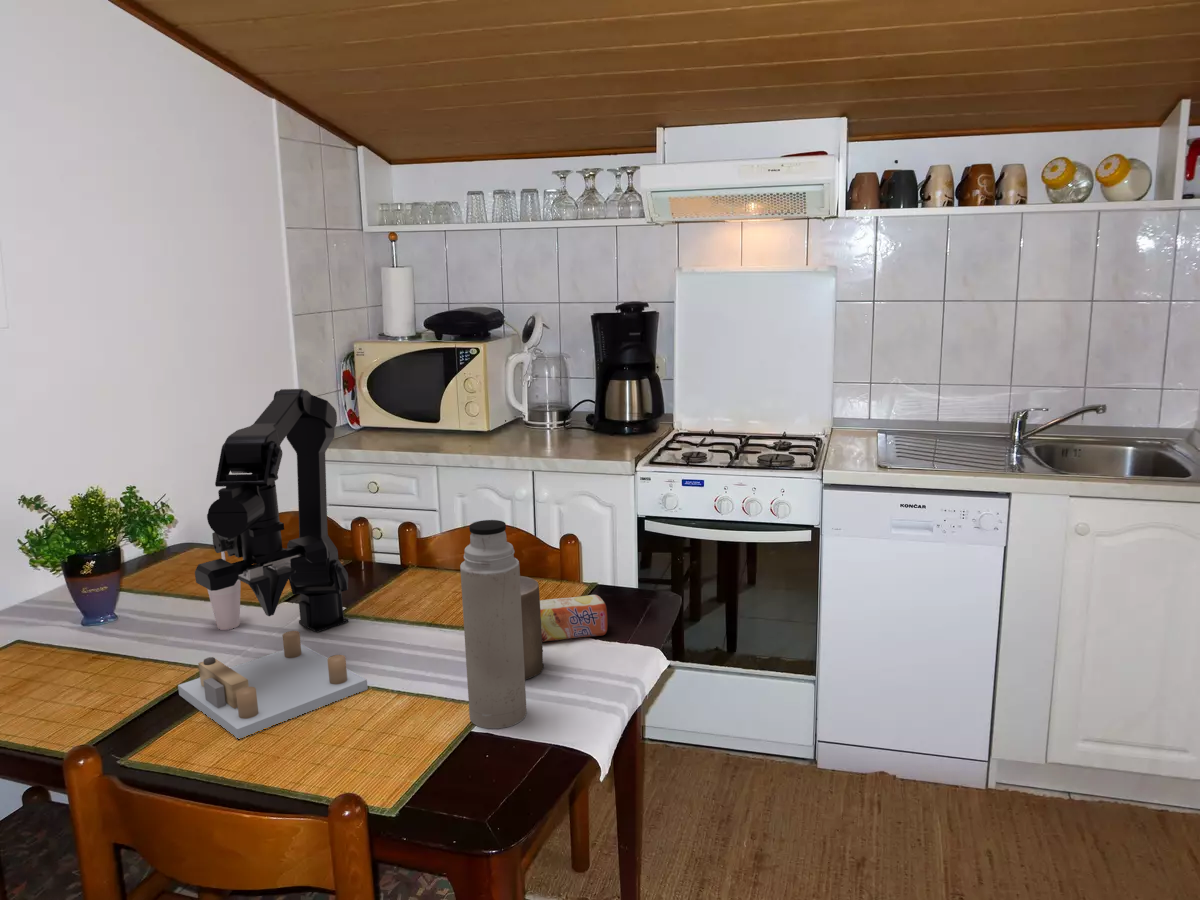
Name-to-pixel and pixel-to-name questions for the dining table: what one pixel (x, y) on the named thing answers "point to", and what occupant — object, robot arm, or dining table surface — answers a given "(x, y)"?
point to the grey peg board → (276, 688)
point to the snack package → (573, 617)
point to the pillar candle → (531, 627)
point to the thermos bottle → (493, 627)
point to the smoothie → (226, 605)
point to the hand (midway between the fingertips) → (269, 615)
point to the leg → (223, 678)
